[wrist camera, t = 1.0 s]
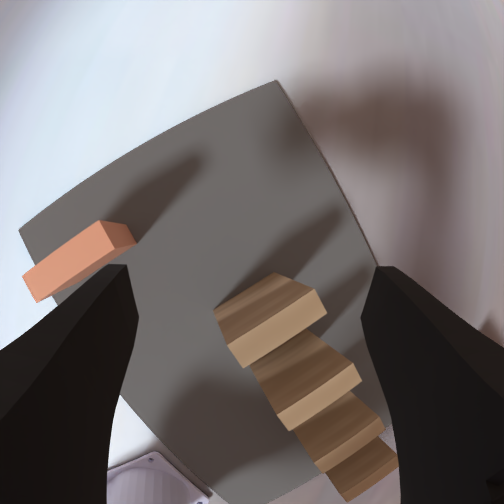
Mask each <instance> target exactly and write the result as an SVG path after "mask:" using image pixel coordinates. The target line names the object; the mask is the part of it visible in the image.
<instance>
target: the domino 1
mask: <svg viewBox="0 0 504 504" xmlns="http://www.w3.org/2000/svg"><path fill="white" fill-rule="evenodd" d="M136 244H137V243H136V241H135V239H134V237H133V236H132V234H131V232H130V230H129V229H128V227H127V225H126V224H120V223H114V222H108V221H102V220H98V221H97V222H95V223H94V224H92V225H91V226H89V227H88V228H86V229H85V230H83V231H82V232H81V233H79V234H78V235H76V236H75V237H73V238H72V239H71V240H69V241H68V242H66V243H65V244H64V245H62V246H61V247H59V248H58V249H57V250H55V251H54V252H53V253H51V254H50V255H49V256H47V257H46V258H45V259H43V260H42V261H41V262H39V263H38V264H37V265H35V266H34V267H33V268H32V269H30V270H29V271H28V272H26V273H25V274H24V275H23V276H22V277H23V279H24V281H25V283H26V285H27V287H28V289H29V290H30V292H31V294H32V296H33V298H34V299H35V301H36V303H38V302H40V301H42V300H44V299H46V298H48V297H50V296H52V295H54V294H56V293H58V292H60V291H62V290H64V289H66V288H68V287H70V286H72V285H74V284H76V283H78V282H80V281H81V280H83V279H84V278H86V277H87V276H89V275H90V274H92V273H93V272H95V271H96V270H98V269H99V268H101V267H102V266H104V265H105V264H107V263H108V262H110V261H111V260H113V259H114V258H116V257H117V256H119V255H121V254H122V253H124V252H125V251H127V250H128V249H130V248H131V247H133V246H135V245H136Z"/></svg>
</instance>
